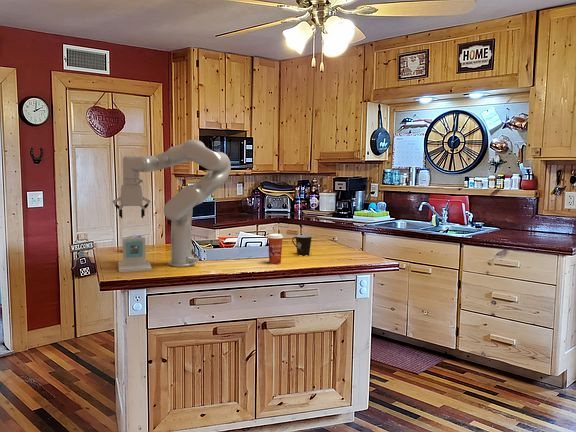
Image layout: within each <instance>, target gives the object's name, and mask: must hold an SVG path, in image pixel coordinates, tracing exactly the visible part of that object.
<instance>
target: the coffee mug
mask: <svg viewBox="0 0 576 432" xmlns="http://www.w3.org/2000/svg"><path fill="white" fill-rule="evenodd" d="M312 237H313V236H312V235H309V234H297V235H295V236H294V237H292V239H291V241H292V242H291V243H293V245H294V246H295V247H296V254H298V255H297V256H299V255H303V256H302V257H306V256H305V255H308V256H310V252H311V246H312V245H311V244H312ZM294 239H295V242H294ZM295 243H296V244H295Z"/></svg>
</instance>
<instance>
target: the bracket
mask: <svg viewBox="0 0 576 432" xmlns="http://www.w3.org/2000/svg"><path fill="white" fill-rule="evenodd" d="M121 239H122V260H121V261H117V263H118V272H119V273H127V272H129V273H130V272H131V273H132V272H146V271H147V272H148V271H153V270H152V269H153V268H152V265H151V263H150V260H149V259H146V237H145V236H144V237H143V236H141V237H140V238H127V237H123V238H121ZM131 241H142V257H128V258H127V257H126V242H131ZM130 253H138V246H137V250H136V251H133V250H132V249H131V246H130Z"/></svg>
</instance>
